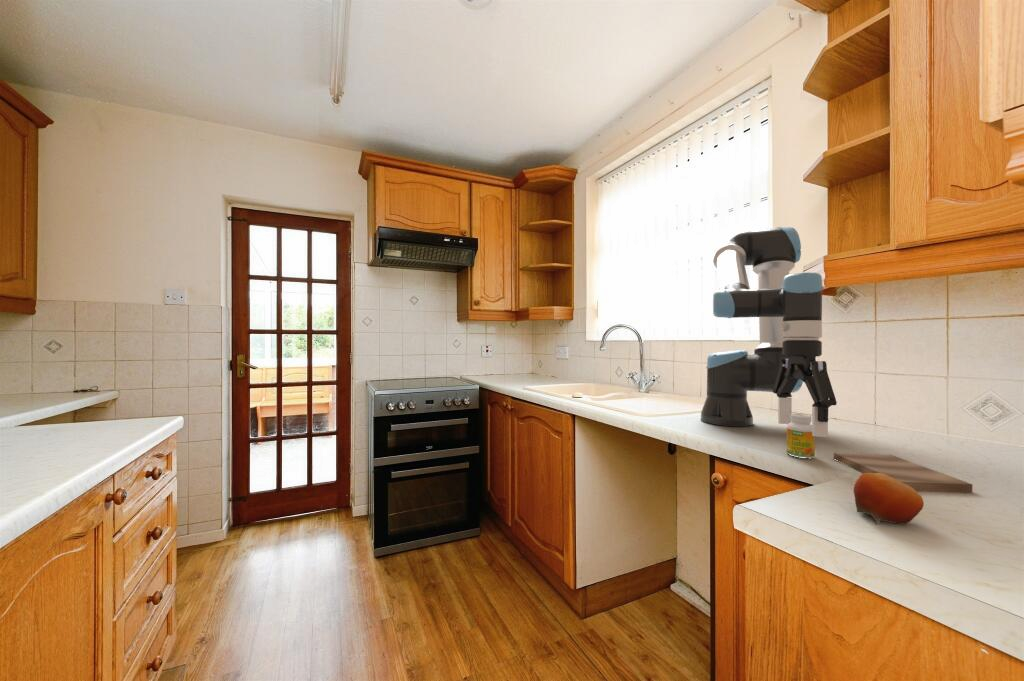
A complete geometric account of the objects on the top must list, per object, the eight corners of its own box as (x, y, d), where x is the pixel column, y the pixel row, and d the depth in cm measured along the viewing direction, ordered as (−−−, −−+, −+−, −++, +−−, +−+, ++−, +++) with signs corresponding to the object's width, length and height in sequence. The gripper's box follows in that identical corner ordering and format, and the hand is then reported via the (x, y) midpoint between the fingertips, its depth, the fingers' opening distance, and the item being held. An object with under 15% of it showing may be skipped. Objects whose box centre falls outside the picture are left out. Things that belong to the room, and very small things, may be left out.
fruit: (828, 500, 67) (852, 458, 67) (866, 523, 67) (890, 481, 67) (875, 522, 59) (903, 475, 59) (918, 548, 59) (945, 501, 59)
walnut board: (833, 459, 92) (833, 453, 92) (890, 461, 91) (890, 454, 91) (899, 489, 75) (899, 481, 75) (972, 492, 73) (972, 484, 73)
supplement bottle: (788, 457, 94) (788, 416, 94) (785, 451, 99) (785, 412, 99) (816, 461, 91) (817, 418, 91) (812, 454, 96) (812, 414, 96)
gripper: (758, 339, 107) (757, 418, 107) (818, 338, 83) (818, 442, 83) (788, 339, 107) (787, 419, 107) (858, 339, 82) (857, 443, 82)
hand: (801, 429), depth 95 cm, fingers open, 13 cm apart
